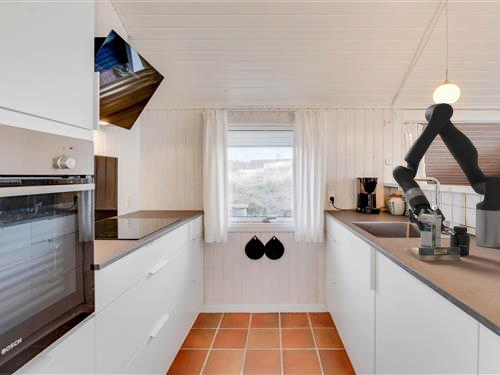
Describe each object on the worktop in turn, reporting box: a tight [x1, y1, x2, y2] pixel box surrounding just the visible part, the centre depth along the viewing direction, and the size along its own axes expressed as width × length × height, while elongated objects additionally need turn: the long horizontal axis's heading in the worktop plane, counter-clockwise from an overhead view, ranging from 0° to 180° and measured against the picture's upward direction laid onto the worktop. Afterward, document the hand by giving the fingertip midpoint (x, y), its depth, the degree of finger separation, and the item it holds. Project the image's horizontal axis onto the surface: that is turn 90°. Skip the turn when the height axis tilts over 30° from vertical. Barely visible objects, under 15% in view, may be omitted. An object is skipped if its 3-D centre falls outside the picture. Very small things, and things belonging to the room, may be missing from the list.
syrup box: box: [419, 214, 442, 248], centre depth 120 cm, size 6×6×14 cm
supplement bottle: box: [449, 225, 471, 257], centre depth 122 cm, size 7×7×12 cm
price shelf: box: [403, 246, 461, 262], centre depth 120 cm, size 16×12×5 cm
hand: (433, 230), depth 118 cm, fingers closed on syrup box, 7 cm apart
